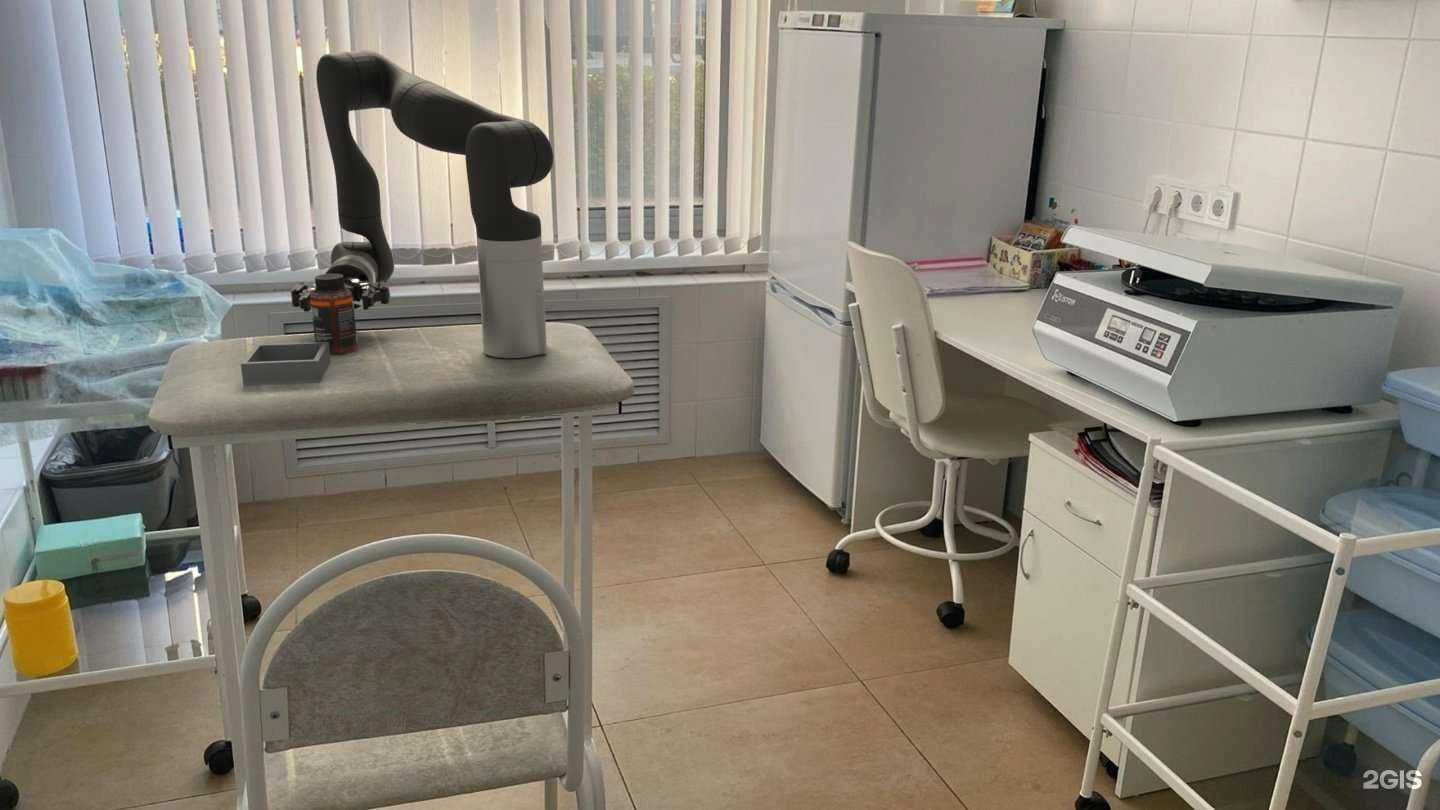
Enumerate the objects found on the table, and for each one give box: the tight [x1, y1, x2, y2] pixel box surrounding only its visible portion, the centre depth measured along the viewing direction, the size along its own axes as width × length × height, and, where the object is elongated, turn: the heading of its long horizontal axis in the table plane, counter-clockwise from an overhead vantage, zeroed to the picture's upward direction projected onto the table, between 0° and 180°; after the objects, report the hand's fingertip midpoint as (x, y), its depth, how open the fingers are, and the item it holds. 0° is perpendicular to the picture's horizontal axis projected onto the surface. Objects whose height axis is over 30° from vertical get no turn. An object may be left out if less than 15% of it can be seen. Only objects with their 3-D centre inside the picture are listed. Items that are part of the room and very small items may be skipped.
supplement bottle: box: [310, 273, 358, 356], centre depth 167 cm, size 6×6×11 cm
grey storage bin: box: [240, 341, 332, 386], centre depth 158 cm, size 10×10×3 cm
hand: (335, 304), depth 170 cm, fingers open, 8 cm apart
